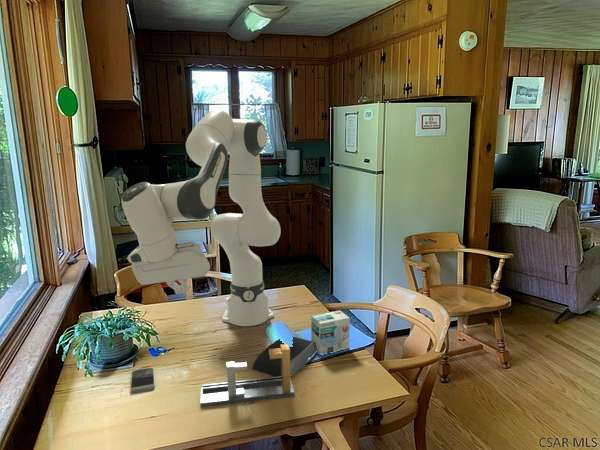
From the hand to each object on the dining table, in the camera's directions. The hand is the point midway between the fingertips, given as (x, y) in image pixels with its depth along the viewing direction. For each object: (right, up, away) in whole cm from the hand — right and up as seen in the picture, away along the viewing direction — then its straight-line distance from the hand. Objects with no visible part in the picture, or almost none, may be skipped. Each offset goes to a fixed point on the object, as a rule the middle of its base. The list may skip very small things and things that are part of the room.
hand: (182, 292), depth 118 cm
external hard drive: (+26, -24, +19) cm, 40 cm away
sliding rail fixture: (+17, -27, +1) cm, 32 cm away
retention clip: (+15, -26, -1) cm, 30 cm away
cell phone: (-13, -27, +8) cm, 31 cm away
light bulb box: (+40, -22, +25) cm, 52 cm away
